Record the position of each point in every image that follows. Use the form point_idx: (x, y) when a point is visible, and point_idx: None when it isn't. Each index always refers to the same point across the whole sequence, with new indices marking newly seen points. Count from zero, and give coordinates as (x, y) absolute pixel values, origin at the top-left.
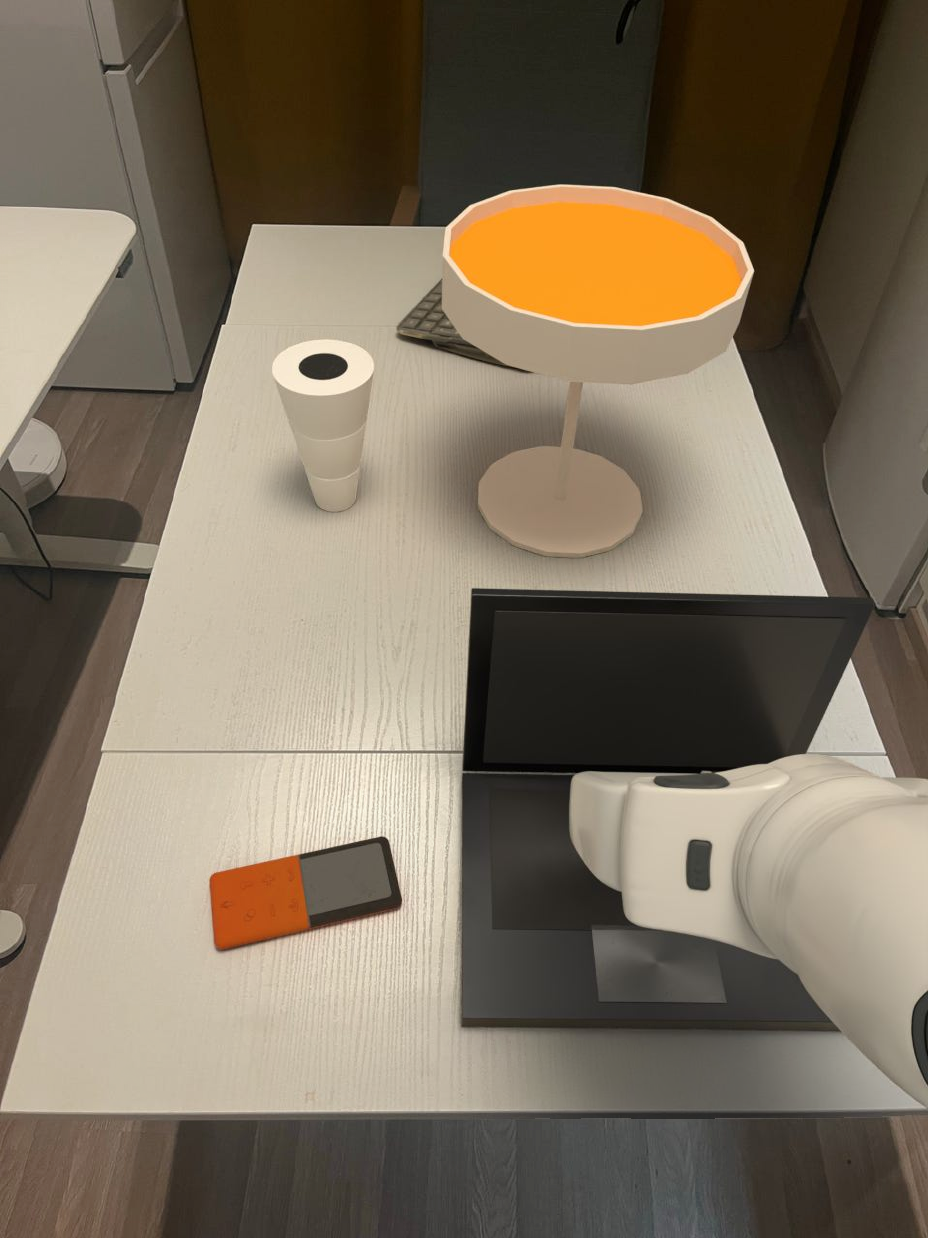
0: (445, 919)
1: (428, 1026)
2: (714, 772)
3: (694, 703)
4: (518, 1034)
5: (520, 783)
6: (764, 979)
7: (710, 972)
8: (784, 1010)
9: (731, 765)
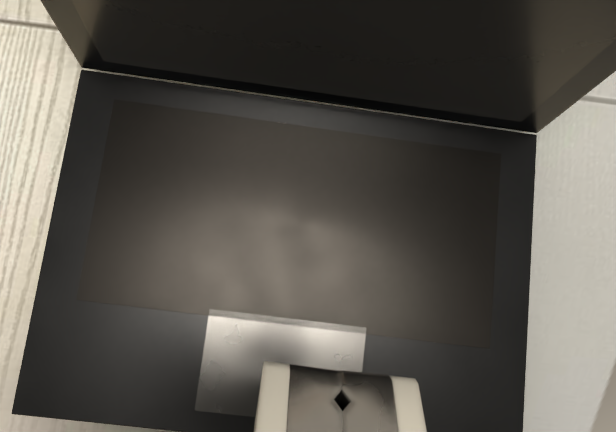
0: (33, 267)
1: None
2: (297, 387)
3: (414, 22)
4: None
5: (160, 96)
6: None
7: None
8: None
9: (455, 110)
